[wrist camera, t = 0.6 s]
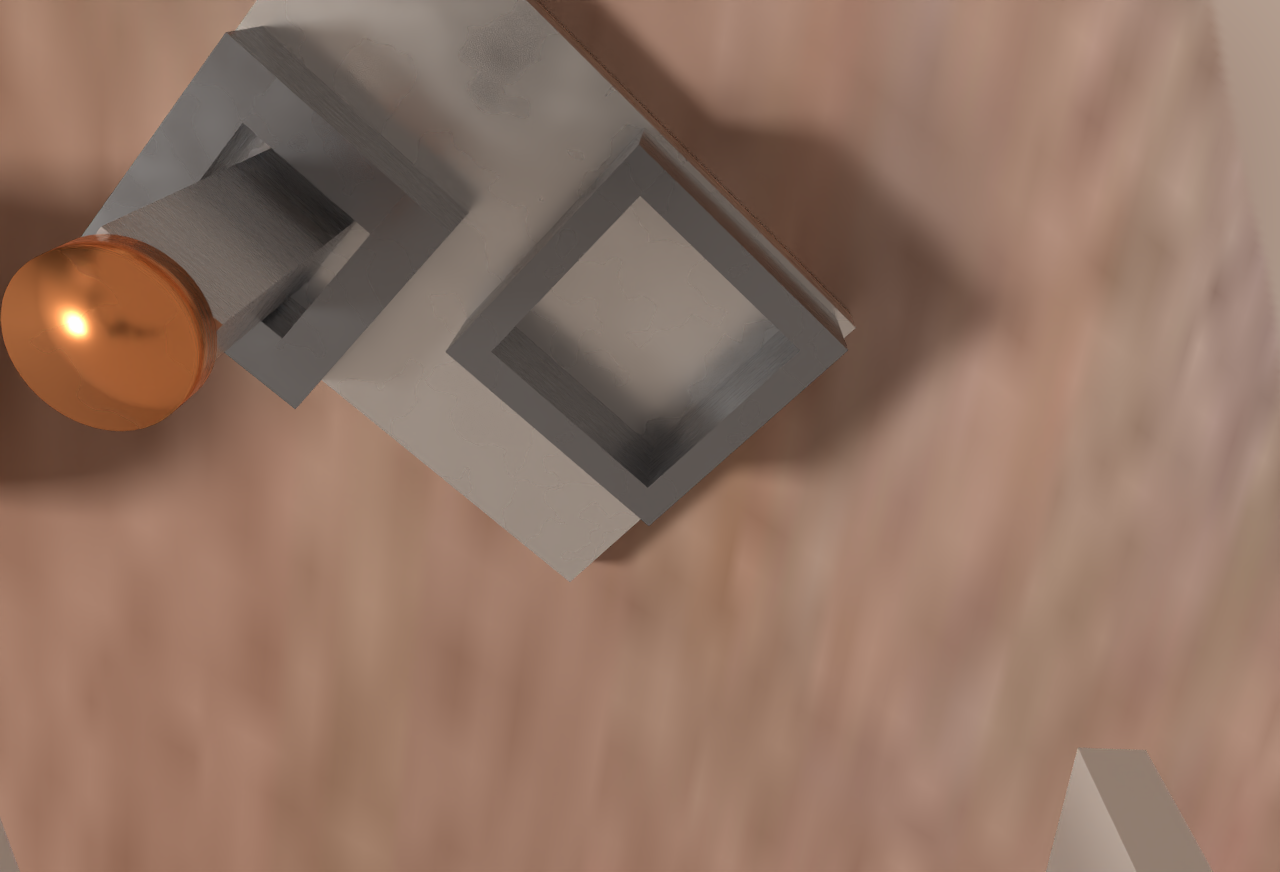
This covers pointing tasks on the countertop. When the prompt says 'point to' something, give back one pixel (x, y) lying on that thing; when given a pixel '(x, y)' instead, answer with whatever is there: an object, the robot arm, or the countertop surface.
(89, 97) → the countertop surface
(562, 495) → the dock
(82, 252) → the pin
